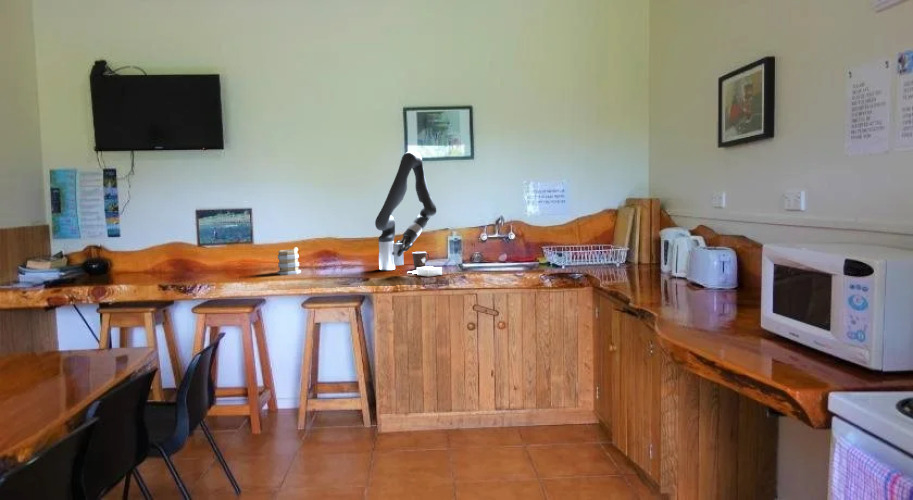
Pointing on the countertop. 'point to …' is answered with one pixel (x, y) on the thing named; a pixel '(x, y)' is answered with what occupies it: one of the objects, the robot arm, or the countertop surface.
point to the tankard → (288, 262)
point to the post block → (427, 271)
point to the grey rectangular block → (396, 259)
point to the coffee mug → (419, 259)
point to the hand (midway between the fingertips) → (395, 255)
